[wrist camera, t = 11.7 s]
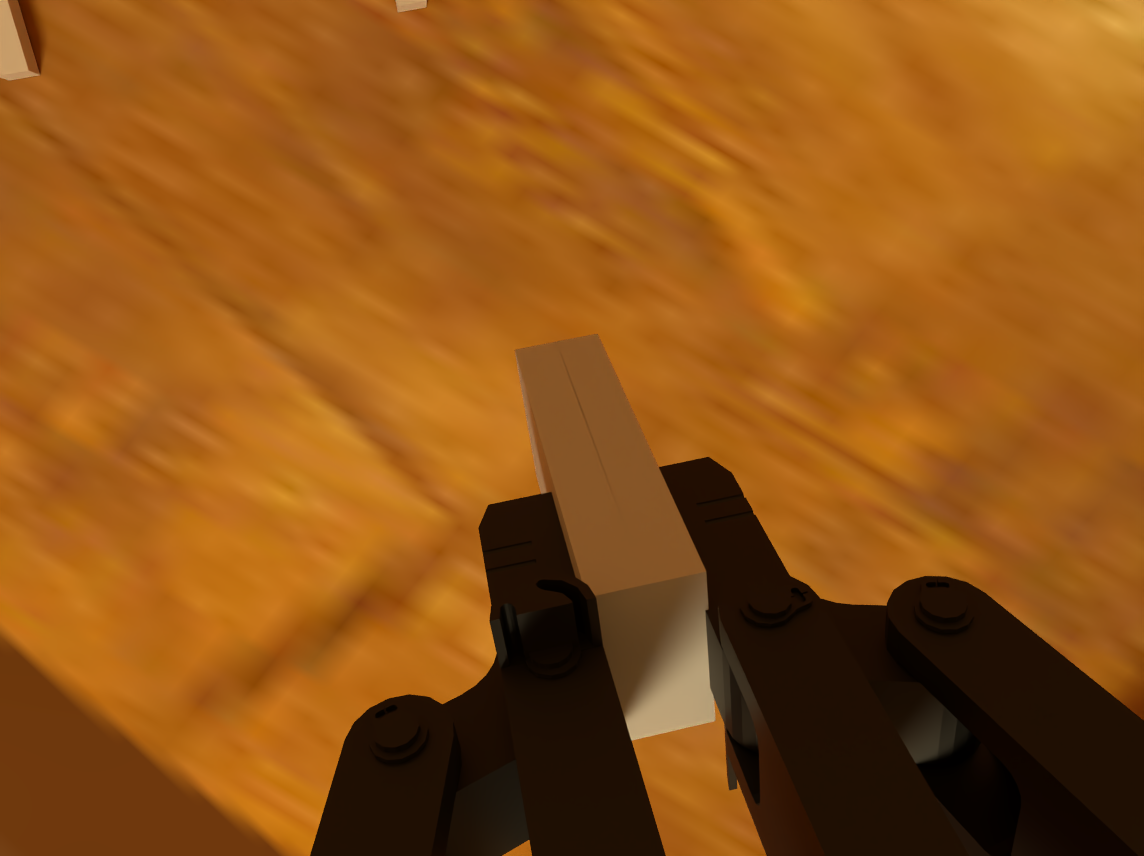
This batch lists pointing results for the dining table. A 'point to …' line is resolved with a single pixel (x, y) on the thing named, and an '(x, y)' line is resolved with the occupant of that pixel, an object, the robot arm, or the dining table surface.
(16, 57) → the t outline
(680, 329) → the dining table surface
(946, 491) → the dining table surface
